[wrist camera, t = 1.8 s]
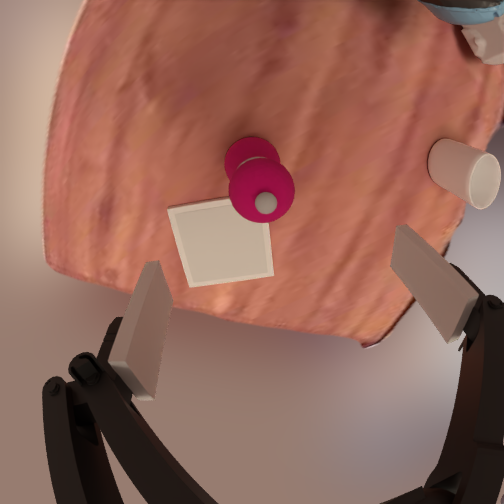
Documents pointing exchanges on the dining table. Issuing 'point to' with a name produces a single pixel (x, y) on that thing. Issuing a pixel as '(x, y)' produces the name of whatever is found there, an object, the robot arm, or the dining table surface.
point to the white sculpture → (487, 40)
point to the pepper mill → (258, 180)
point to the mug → (465, 172)
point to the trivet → (220, 243)
